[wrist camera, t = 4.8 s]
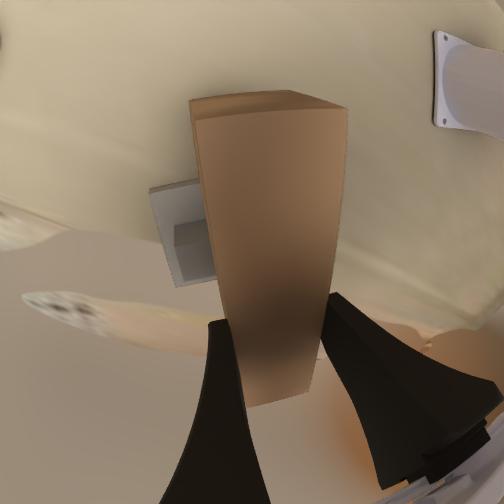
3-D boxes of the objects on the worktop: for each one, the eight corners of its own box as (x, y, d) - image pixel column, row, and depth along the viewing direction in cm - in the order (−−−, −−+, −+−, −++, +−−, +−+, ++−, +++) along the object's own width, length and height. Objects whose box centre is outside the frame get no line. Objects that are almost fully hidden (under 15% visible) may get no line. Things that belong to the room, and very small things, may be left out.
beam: (289, 90, 9) (348, 109, 6) (286, 337, 18) (308, 391, 15) (188, 100, 9) (194, 120, 5) (231, 350, 17) (246, 408, 14)
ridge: (297, 163, 17) (319, 181, 15) (297, 255, 21) (314, 282, 19) (149, 188, 16) (144, 212, 13) (175, 280, 20) (177, 312, 18)
